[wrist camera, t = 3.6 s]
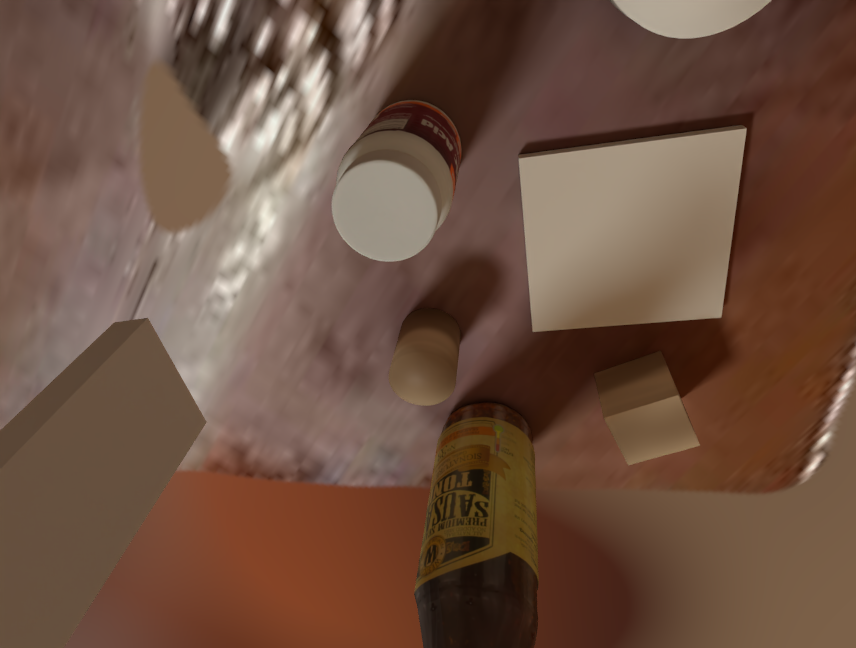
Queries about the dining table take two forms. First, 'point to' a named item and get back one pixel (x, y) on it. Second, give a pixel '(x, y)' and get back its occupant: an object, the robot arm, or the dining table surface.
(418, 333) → the cork
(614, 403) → the beech block
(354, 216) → the pill bottle
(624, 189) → the tile
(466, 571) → the sauce bottle
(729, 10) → the white squat cylinder
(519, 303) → the dining table surface
